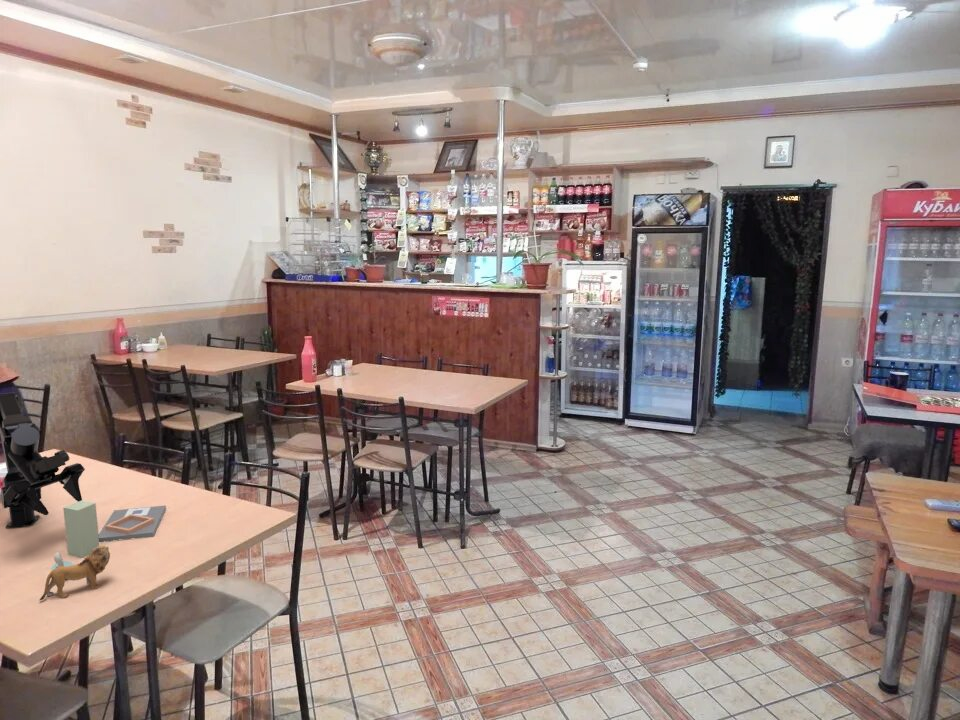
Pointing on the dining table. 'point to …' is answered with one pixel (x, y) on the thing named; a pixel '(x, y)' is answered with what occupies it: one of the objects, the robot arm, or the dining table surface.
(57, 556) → the pacifier
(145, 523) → the collar
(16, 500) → the robot arm
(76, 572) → the lion figurine
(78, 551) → the pillar
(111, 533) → the baseplate
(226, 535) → the dining table surface
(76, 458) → the dining table surface
